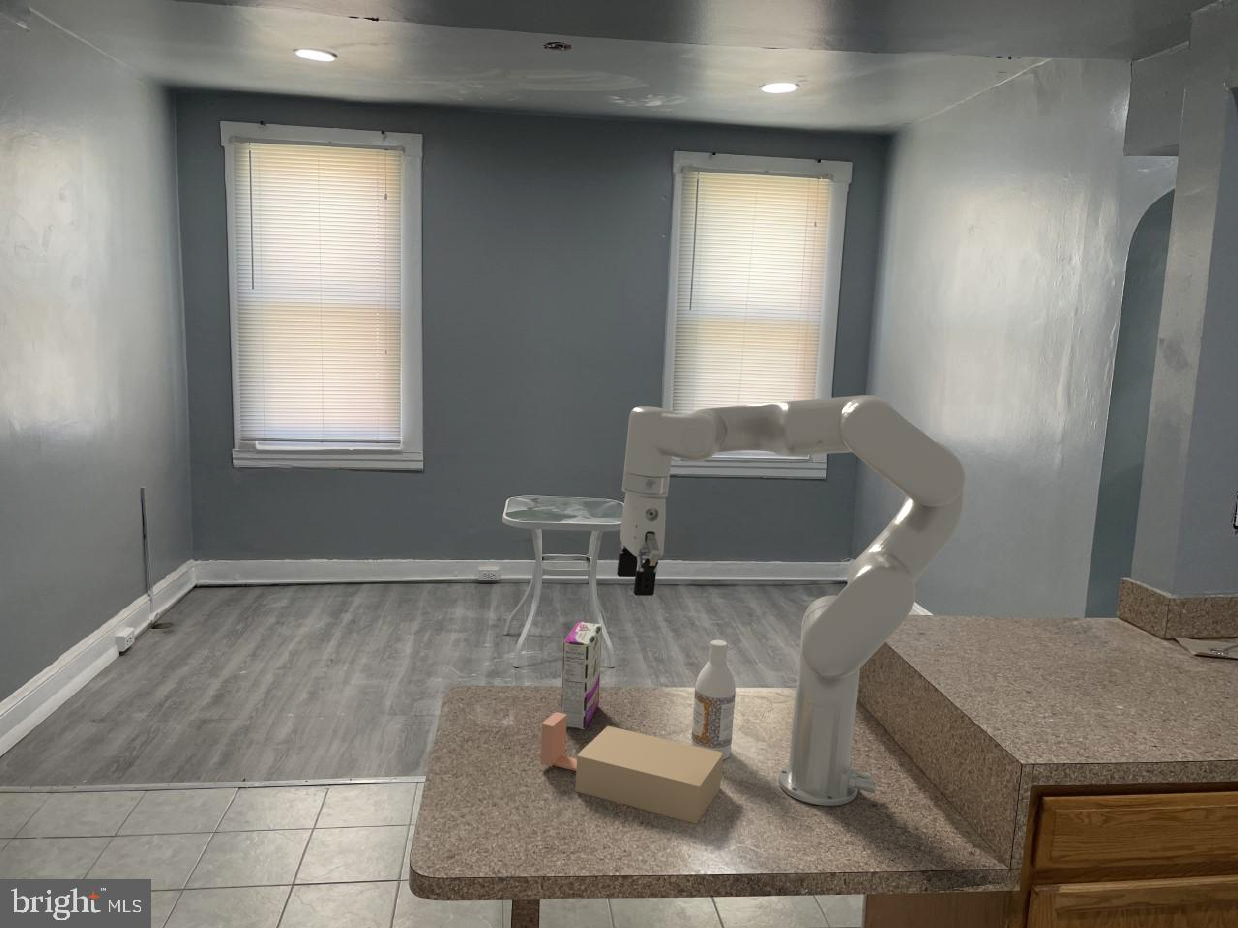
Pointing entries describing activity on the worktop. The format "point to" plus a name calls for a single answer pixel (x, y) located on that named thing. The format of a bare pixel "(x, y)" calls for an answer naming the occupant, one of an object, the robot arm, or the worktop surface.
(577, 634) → the candy bar box
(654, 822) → the worktop surface
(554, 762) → the tray
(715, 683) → the bath foam
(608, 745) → the sleeve
